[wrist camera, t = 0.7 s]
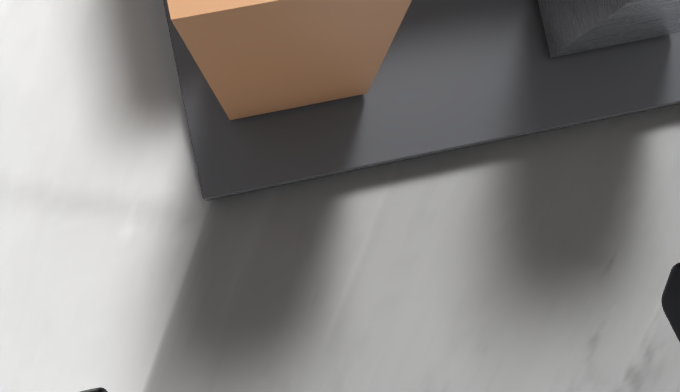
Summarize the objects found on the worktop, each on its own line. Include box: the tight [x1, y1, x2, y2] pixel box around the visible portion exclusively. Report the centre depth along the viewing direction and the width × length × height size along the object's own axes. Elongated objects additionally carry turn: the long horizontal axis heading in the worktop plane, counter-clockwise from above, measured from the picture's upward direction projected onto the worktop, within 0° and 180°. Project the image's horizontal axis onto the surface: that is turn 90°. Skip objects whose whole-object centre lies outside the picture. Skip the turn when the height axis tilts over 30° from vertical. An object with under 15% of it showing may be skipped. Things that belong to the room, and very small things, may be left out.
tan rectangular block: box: [167, 0, 412, 120], centre depth 17 cm, size 3×5×10 cm, turn 102°
